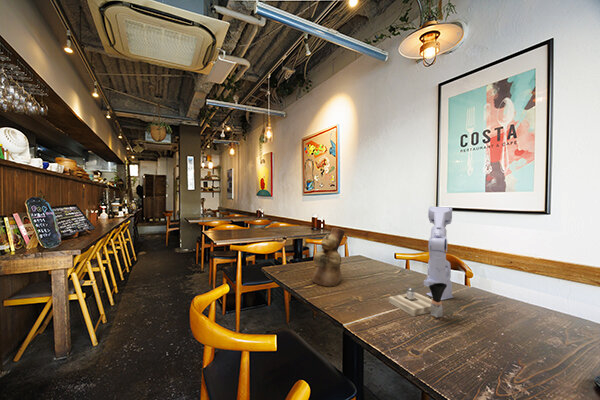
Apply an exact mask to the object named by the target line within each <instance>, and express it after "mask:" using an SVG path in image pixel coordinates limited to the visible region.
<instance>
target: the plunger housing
mask: <svg viewBox="0 0 600 400" xmlns="http://www.w3.org/2000/svg"><path fill="white" fill-rule="evenodd" d="M429 314H430V315H431V316H433V317H435V318H440V317H443V305H442V306H441V305H438V307H436V306H435V304H431V311H430V313H429Z"/></svg>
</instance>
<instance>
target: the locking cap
mask: <svg viewBox="0 0 600 400" xmlns="http://www.w3.org/2000/svg"><path fill="white" fill-rule="evenodd" d="M431 300H432V303H433V304H435V306H436V307H438V305H442V306H443V302H442V300H440V302H436V301H433V298H432V299H431Z"/></svg>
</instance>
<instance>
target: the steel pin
mask: <svg viewBox="0 0 600 400" xmlns="http://www.w3.org/2000/svg"><path fill="white" fill-rule="evenodd" d="M415 291H416V290H415V288H414V287H410V286H408V287H407V288H406V294H407V300H409V301H415Z"/></svg>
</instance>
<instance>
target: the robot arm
mask: <svg viewBox="0 0 600 400" xmlns="http://www.w3.org/2000/svg"><path fill="white" fill-rule="evenodd" d="M427 211H428V212H427V213H428V215H427V216H428V217H427V218H428V220H429V223H431V224H432V225H434V226H432V227H431V230H430V238H429V239H428V248H427V249H428V254H429V255H428V256H429V259H428V262H427V275H426V279H424V280H423V286H424V287H427V288H429V290H430V291H429V292H426V293H425V295H426V296H429V297H431V298H432V299H433V301H436V302H440V301H442V300H448V299H453V298H454V296H453V283H452V280H451V275H452V273H451V270H452V269H451V268H452V267H451V262H450V261H448V260H447V252H448V238H447V231H448V230H447V228H446V227H447V226H448V225H450V224H452V220H453V207H452V206H431V205H429V207H428V210H427Z"/></svg>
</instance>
